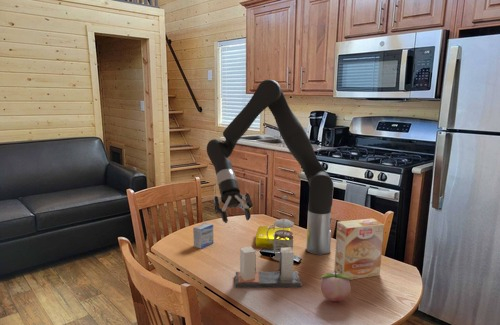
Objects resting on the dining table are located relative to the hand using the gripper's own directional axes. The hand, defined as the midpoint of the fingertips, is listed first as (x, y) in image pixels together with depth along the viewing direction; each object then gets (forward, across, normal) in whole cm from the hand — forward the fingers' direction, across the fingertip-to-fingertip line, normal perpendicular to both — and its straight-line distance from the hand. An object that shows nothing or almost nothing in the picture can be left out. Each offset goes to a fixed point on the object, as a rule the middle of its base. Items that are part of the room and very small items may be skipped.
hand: (237, 220), depth 129 cm
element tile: (+1, +23, +26) cm, 35 cm away
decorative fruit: (+36, +21, -10) cm, 42 cm away
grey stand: (+22, +6, +3) cm, 23 cm away
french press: (+11, +20, +15) cm, 27 cm away
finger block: (+20, 0, +4) cm, 20 cm away
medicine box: (-4, -7, +30) cm, 31 cm away
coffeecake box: (+27, +39, -1) cm, 48 cm away
